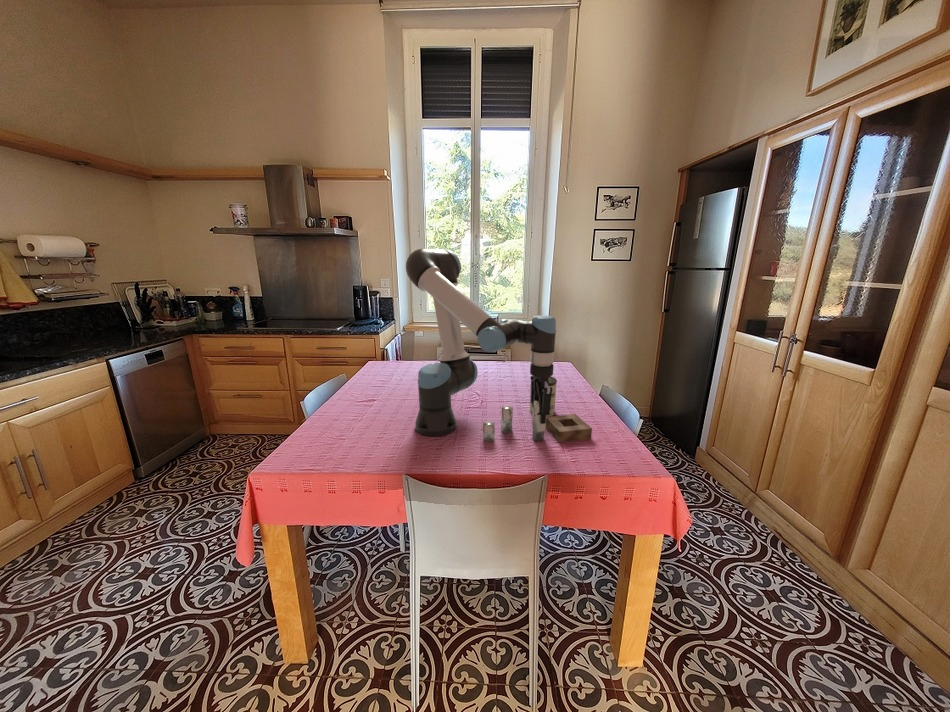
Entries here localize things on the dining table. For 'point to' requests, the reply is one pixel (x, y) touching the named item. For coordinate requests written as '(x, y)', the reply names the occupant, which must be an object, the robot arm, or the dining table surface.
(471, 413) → the dining table surface
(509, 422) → the medium pin
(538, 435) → the long pin
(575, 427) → the hole block
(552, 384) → the coffee can
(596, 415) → the dining table surface
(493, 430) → the short pin
